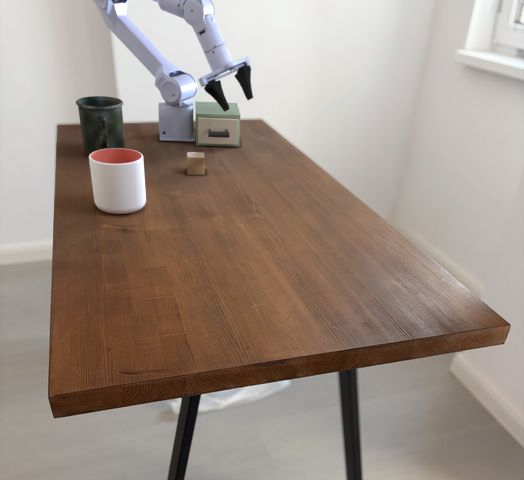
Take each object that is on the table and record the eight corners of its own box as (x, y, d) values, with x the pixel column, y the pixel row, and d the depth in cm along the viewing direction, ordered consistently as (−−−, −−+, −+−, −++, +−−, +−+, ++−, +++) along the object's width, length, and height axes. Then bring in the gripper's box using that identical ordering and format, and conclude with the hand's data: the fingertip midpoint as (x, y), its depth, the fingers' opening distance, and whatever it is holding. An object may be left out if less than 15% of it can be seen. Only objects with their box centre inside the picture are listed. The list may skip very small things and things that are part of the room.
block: (187, 174, 127) (186, 157, 125) (187, 169, 130) (186, 151, 128) (204, 175, 128) (204, 157, 125) (204, 169, 131) (204, 152, 128)
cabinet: (239, 146, 147) (240, 115, 142) (196, 145, 146) (195, 113, 141) (236, 133, 158) (237, 103, 153) (195, 131, 157) (195, 101, 152)
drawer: (238, 150, 142) (239, 124, 138) (198, 148, 141) (198, 123, 137) (234, 131, 156) (235, 108, 152) (197, 130, 154) (197, 106, 151)
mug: (126, 146, 142) (121, 96, 135) (130, 164, 131) (125, 110, 123) (82, 146, 139) (75, 95, 132) (82, 165, 128) (75, 110, 121)
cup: (105, 219, 104) (99, 167, 98) (88, 201, 110) (81, 151, 105) (154, 211, 109) (151, 160, 103) (134, 194, 115) (130, 145, 109)
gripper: (197, 54, 129) (222, 111, 134) (245, 33, 134) (268, 90, 139) (186, 63, 135) (211, 118, 140) (233, 43, 140) (255, 97, 145)
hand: (238, 104), depth 140 cm, fingers open, 7 cm apart
